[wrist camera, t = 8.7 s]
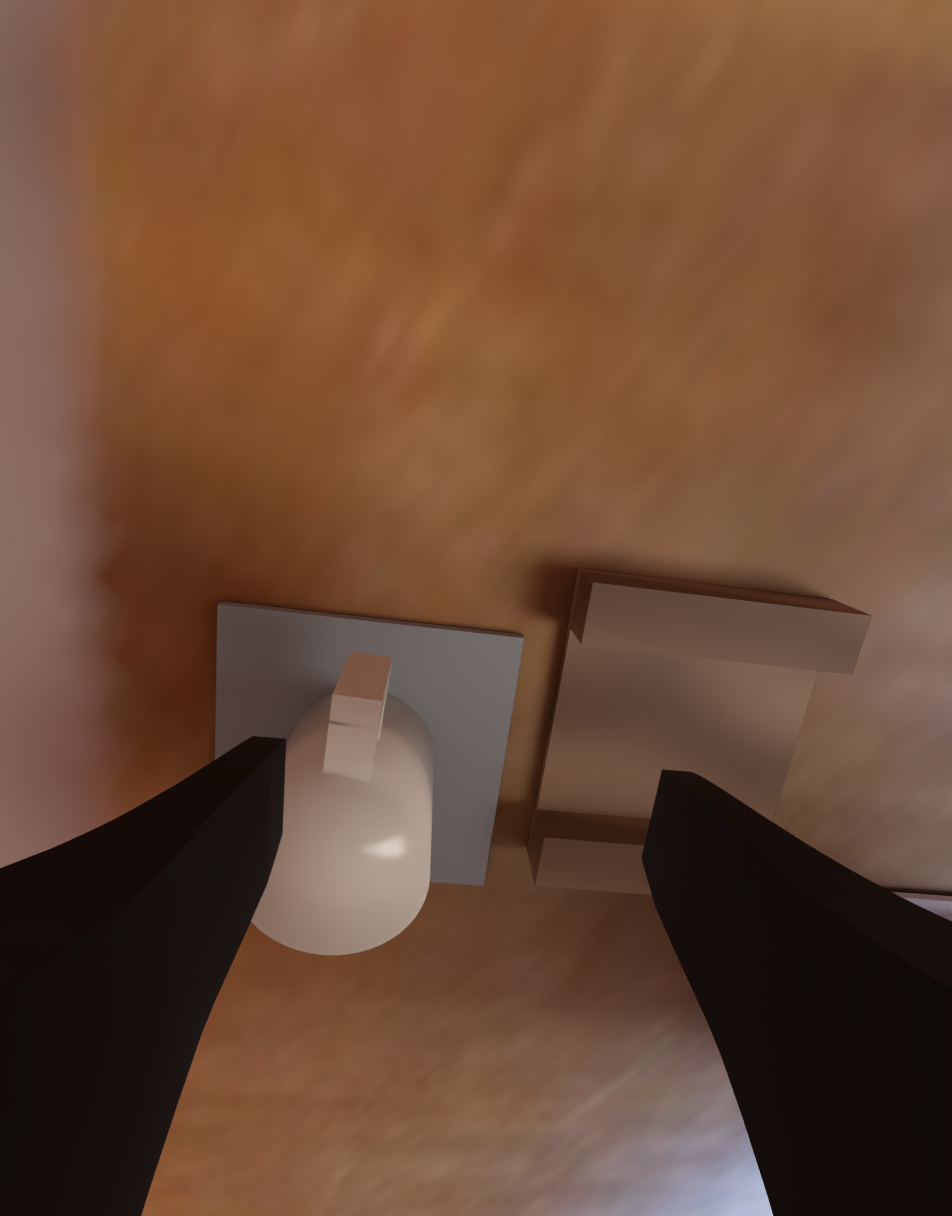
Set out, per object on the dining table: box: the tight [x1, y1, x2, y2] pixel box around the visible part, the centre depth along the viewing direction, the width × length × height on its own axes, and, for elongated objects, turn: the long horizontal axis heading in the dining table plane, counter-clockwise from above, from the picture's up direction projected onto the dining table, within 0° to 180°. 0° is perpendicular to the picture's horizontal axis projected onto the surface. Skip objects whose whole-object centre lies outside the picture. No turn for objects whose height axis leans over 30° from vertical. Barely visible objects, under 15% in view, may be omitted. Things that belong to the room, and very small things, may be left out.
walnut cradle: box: [527, 568, 872, 895], centre depth 21 cm, size 11×9×2 cm
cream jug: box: [251, 651, 434, 955], centre depth 18 cm, size 7×5×6 cm
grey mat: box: [215, 601, 524, 886], centre depth 21 cm, size 10×10×1 cm
